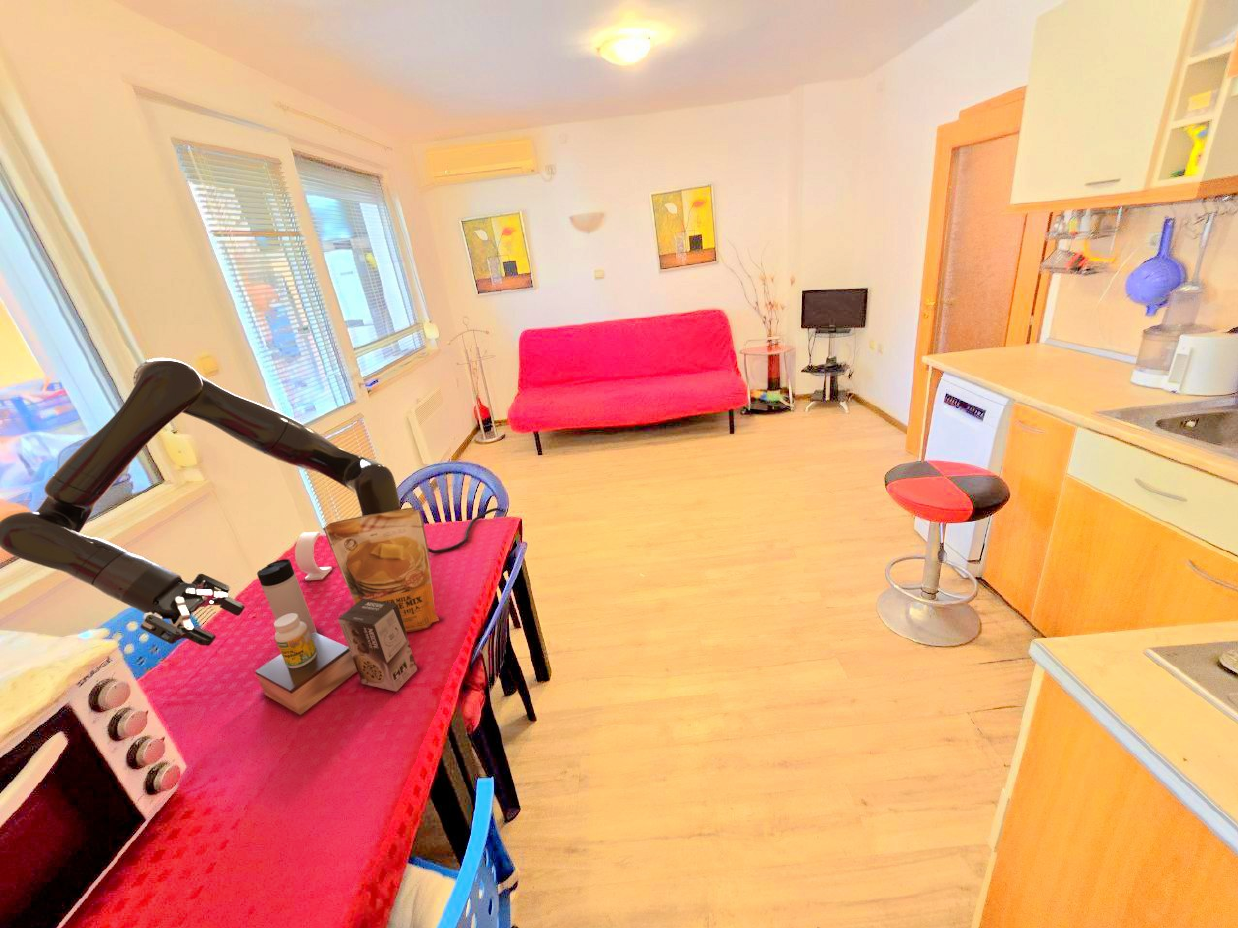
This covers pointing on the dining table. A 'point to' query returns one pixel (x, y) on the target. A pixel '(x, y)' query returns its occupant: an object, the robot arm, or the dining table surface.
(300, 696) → the stand
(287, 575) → the travel mug
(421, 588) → the pancake mix bag
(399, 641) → the coffee box
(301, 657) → the supplement bottle
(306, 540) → the headphone stand
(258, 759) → the dining table surface
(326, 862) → the dining table surface
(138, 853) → the dining table surface
